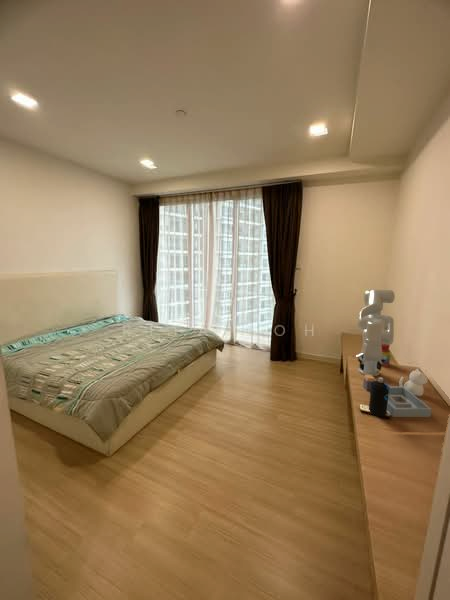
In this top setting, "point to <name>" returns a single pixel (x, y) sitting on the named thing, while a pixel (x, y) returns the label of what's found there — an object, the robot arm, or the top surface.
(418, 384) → the cat figurine
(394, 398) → the inlet
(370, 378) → the block
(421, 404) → the walled box
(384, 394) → the aerosol can
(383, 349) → the stacking bear
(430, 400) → the top surface
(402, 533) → the top surface
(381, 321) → the robot arm
